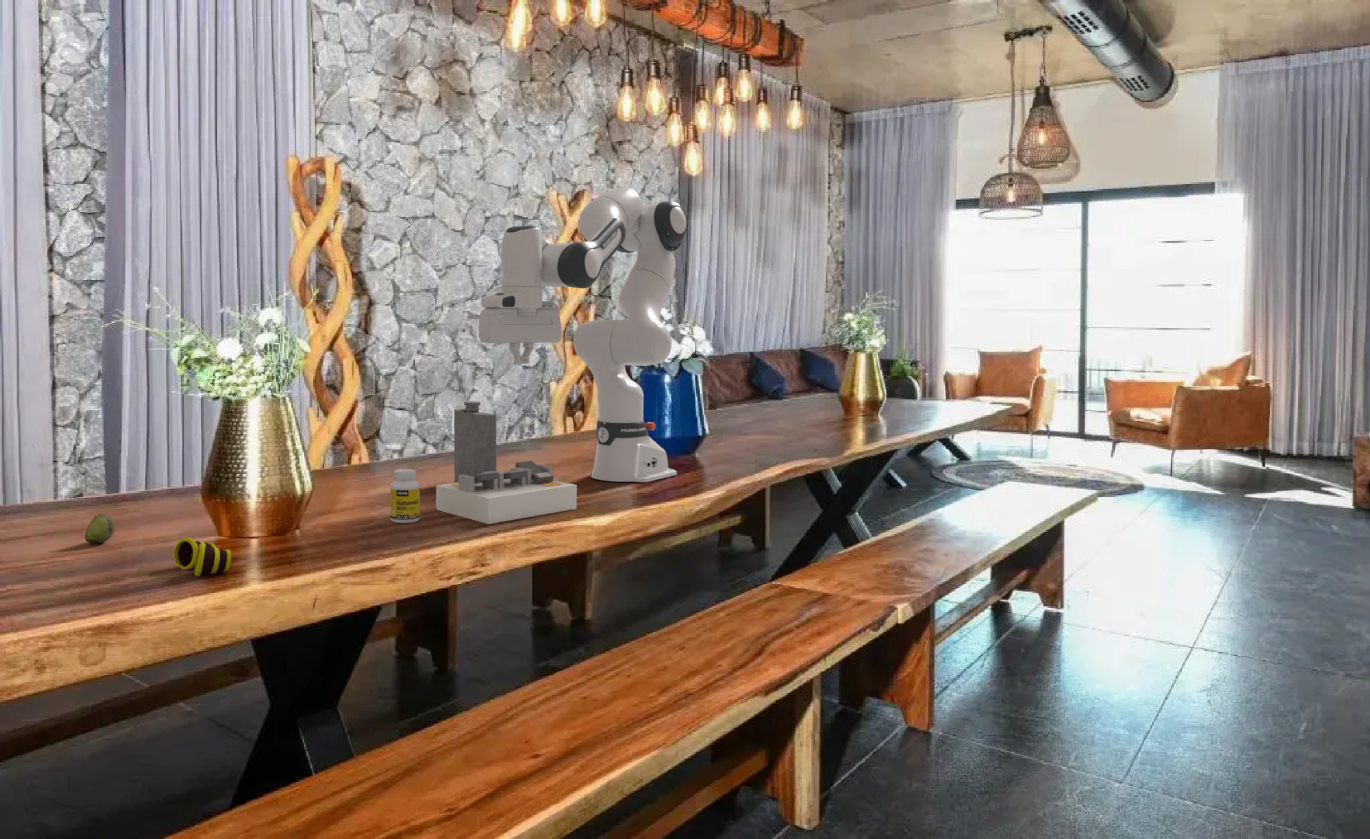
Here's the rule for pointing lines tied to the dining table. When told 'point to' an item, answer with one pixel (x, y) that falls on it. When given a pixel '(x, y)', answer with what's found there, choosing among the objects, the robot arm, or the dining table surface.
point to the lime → (100, 529)
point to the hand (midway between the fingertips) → (521, 363)
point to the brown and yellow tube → (201, 556)
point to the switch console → (505, 497)
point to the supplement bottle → (405, 497)
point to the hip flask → (474, 441)
